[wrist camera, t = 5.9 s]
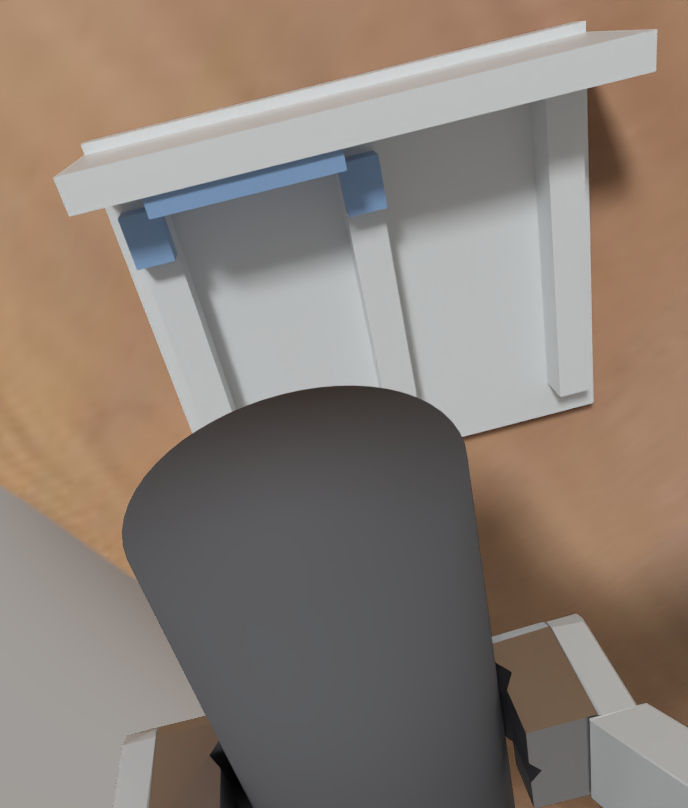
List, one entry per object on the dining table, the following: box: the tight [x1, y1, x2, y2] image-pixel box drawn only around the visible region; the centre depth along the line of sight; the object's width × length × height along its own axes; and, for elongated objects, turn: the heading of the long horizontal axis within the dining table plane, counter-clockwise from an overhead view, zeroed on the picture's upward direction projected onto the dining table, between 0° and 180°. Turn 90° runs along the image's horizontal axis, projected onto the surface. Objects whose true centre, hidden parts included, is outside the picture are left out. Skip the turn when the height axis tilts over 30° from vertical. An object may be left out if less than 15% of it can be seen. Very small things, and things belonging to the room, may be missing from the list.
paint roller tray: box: [53, 21, 657, 437], centre depth 22 cm, size 14×16×5 cm
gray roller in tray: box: [122, 385, 515, 808], centre depth 10 cm, size 9×4×4 cm, turn 12°
